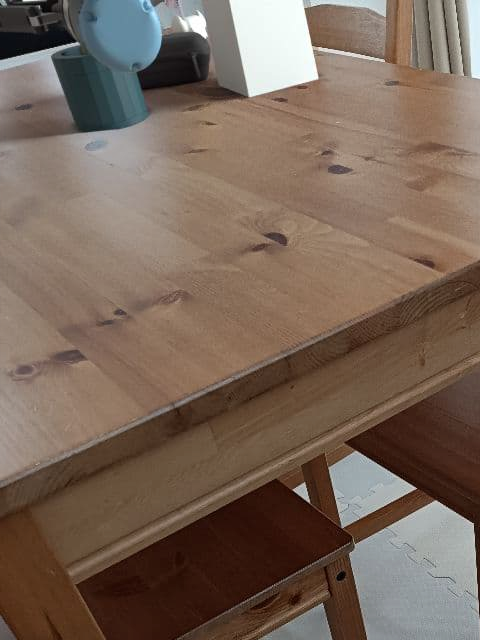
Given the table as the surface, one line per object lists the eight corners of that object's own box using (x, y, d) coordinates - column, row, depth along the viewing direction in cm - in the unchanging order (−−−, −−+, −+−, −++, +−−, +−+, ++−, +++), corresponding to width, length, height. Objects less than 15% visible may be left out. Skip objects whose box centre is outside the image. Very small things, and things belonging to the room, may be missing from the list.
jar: (65, 135, 109) (38, 61, 103) (92, 114, 116) (68, 44, 110) (134, 128, 108) (111, 53, 101) (157, 108, 115) (137, 36, 109)
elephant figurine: (193, 55, 142) (184, 17, 138) (166, 54, 146) (156, 16, 142) (221, 46, 145) (213, 8, 141) (194, 45, 149) (185, 8, 145)
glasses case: (218, 62, 130) (205, 13, 124) (219, 101, 126) (205, 53, 119) (111, 76, 130) (92, 28, 123) (108, 116, 126) (88, 69, 119)
